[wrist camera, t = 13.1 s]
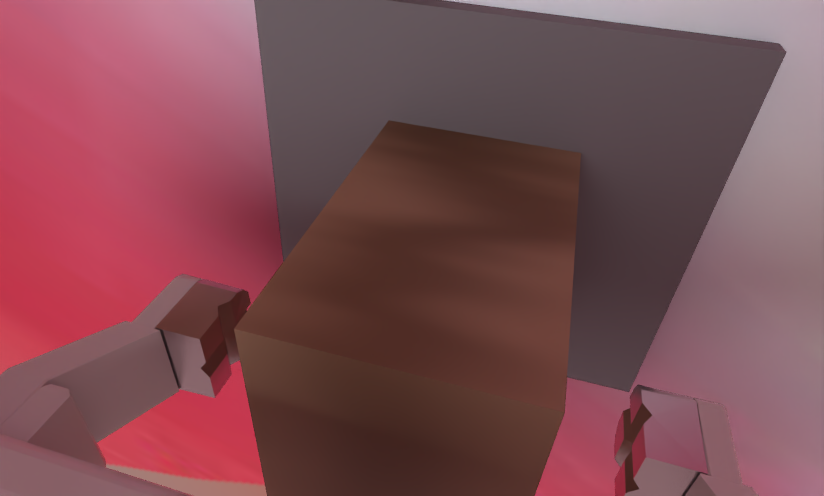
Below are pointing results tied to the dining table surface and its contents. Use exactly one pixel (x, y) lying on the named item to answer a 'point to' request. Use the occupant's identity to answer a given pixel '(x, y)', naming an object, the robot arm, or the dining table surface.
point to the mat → (527, 130)
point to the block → (420, 324)
